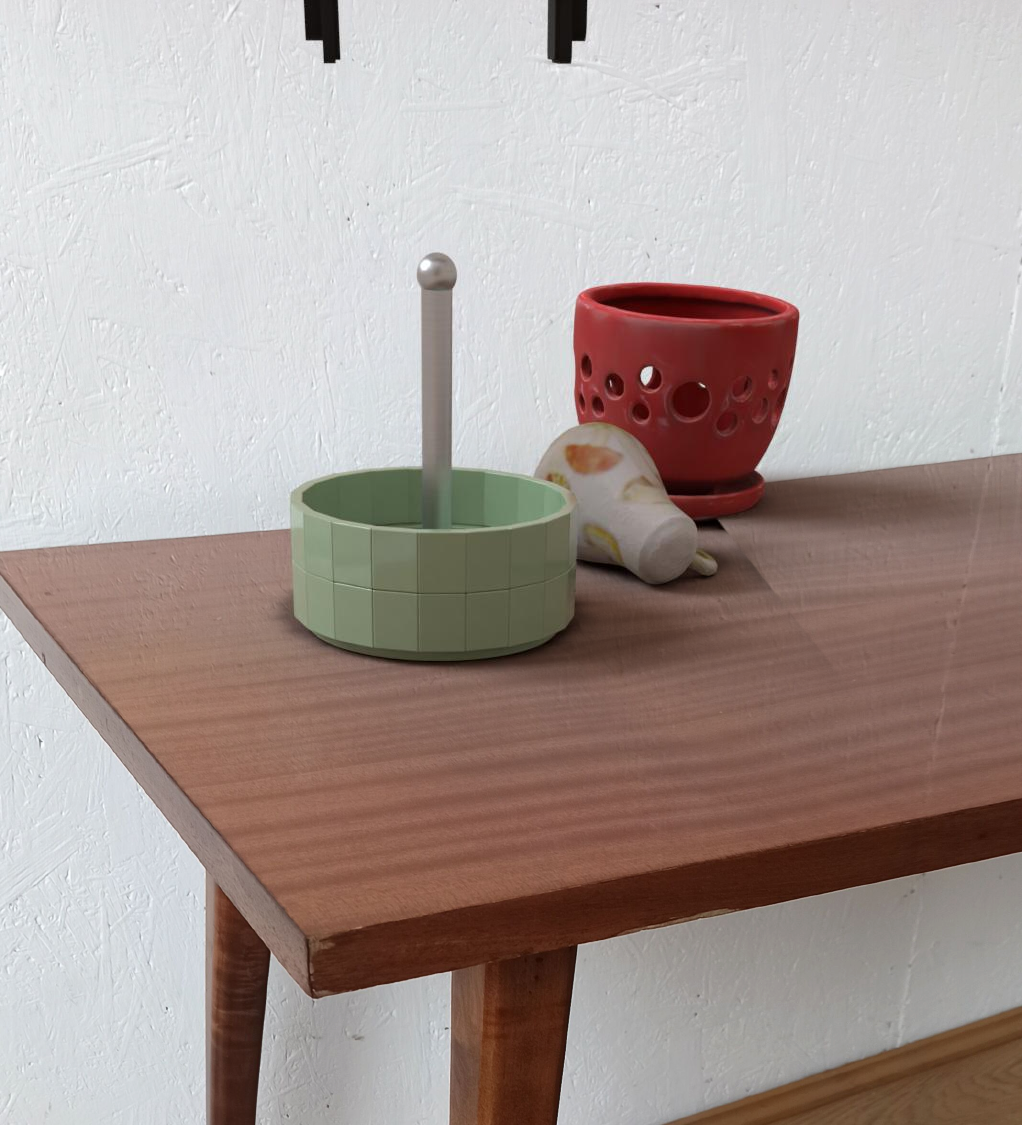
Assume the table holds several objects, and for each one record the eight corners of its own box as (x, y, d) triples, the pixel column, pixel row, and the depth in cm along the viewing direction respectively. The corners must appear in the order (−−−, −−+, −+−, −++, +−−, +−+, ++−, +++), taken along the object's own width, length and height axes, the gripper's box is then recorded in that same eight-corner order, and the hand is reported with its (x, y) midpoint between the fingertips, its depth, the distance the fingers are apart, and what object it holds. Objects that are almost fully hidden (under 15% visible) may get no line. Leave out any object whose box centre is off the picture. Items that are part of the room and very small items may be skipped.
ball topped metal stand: (481, 596, 89) (486, 247, 80) (489, 624, 85) (495, 259, 76) (386, 597, 88) (381, 245, 80) (389, 625, 84) (384, 257, 76)
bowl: (555, 584, 93) (559, 466, 90) (588, 664, 82) (594, 532, 78) (296, 585, 92) (291, 465, 89) (293, 666, 80) (287, 532, 77)
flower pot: (537, 520, 105) (544, 301, 99) (603, 476, 116) (613, 275, 109) (752, 544, 101) (773, 317, 95) (799, 496, 112) (821, 290, 106)
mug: (640, 607, 90) (562, 418, 88) (563, 642, 99) (491, 471, 97) (755, 554, 93) (682, 368, 90) (670, 593, 102) (602, 425, 99)
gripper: (196, -506, 61) (235, 64, 70) (686, -493, 63) (663, 65, 72) (208, -456, 68) (242, 61, 77) (653, -445, 69) (635, 61, 78)
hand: (446, 62), depth 74 cm, fingers open, 9 cm apart
